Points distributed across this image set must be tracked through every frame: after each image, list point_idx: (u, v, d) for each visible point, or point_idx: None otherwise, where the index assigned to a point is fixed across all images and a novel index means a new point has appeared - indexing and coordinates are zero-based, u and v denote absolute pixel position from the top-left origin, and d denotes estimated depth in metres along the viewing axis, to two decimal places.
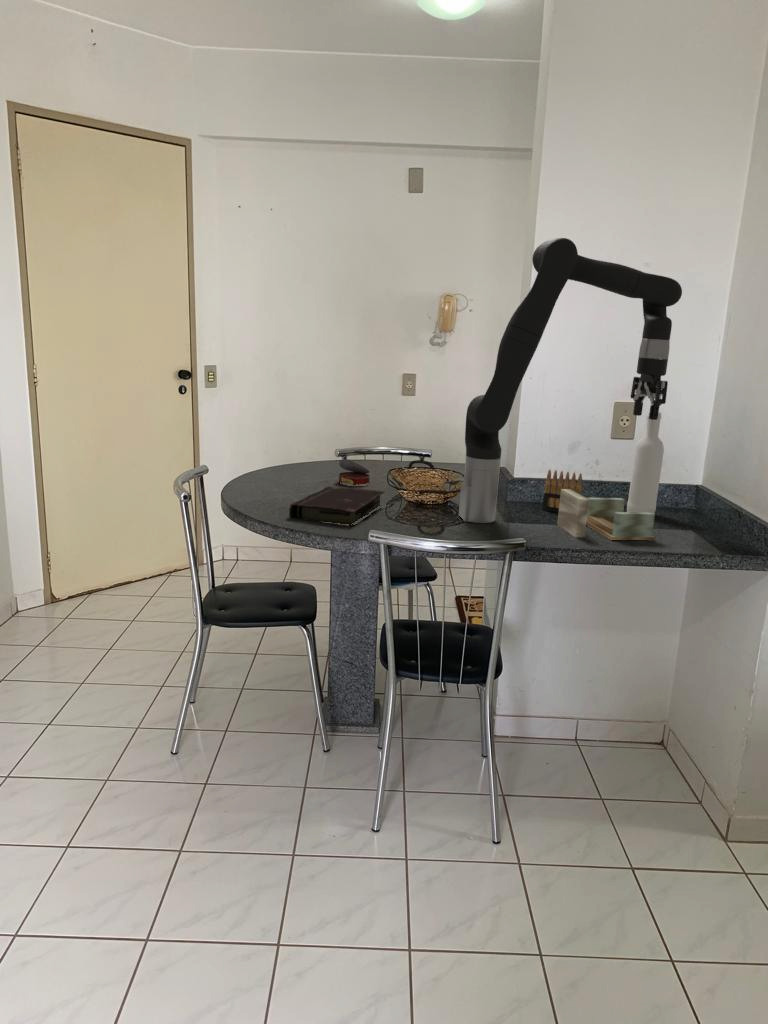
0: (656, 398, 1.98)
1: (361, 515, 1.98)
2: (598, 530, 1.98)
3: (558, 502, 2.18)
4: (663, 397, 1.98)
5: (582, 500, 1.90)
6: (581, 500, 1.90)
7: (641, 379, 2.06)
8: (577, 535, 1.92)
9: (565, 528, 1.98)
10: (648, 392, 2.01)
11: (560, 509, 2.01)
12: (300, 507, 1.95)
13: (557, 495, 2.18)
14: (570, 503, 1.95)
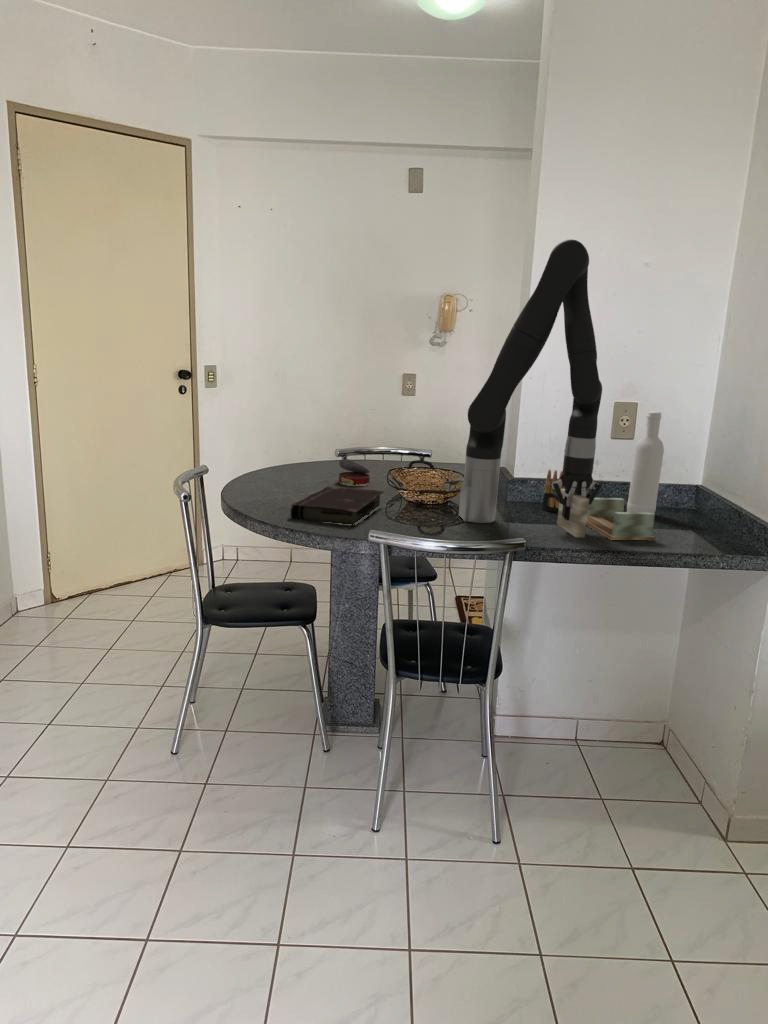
0: (591, 500, 1.96)
1: (362, 515, 1.98)
2: (598, 530, 1.98)
3: (558, 502, 2.18)
4: (588, 497, 1.97)
5: (582, 500, 1.90)
6: (581, 500, 1.90)
7: (568, 478, 1.93)
8: (577, 535, 1.92)
9: (565, 528, 1.98)
10: (584, 493, 1.94)
11: (560, 509, 2.01)
12: (301, 507, 1.95)
13: None
14: None
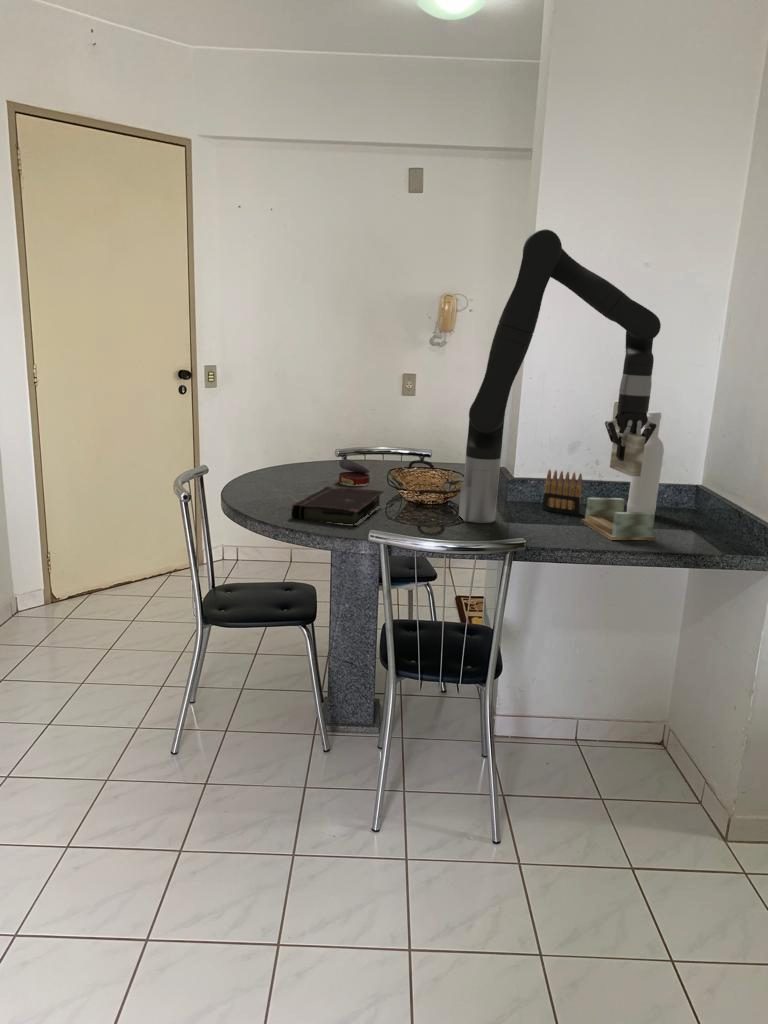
0: (646, 439, 1.94)
1: (363, 515, 1.98)
2: (598, 530, 1.98)
3: (558, 502, 2.18)
4: None
5: (638, 438, 1.88)
6: (637, 438, 1.88)
7: (623, 417, 1.91)
8: (633, 474, 1.90)
9: (619, 469, 1.96)
10: (639, 432, 1.93)
11: (613, 450, 2.00)
12: (302, 508, 1.95)
13: (557, 495, 2.18)
14: None
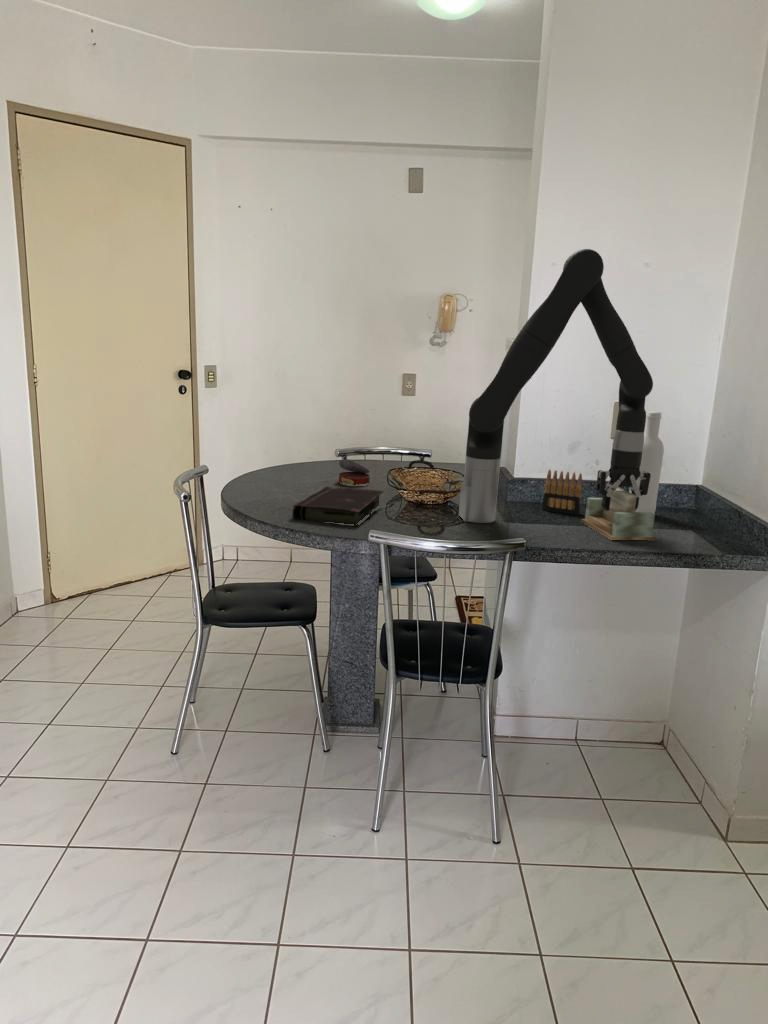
0: (645, 490, 1.98)
1: (364, 515, 1.98)
2: (598, 530, 1.98)
3: (558, 502, 2.18)
4: (642, 487, 1.99)
5: (630, 496, 1.92)
6: (629, 496, 1.92)
7: (617, 472, 1.95)
8: None
9: None
10: (635, 485, 1.96)
11: None
12: (303, 508, 1.95)
13: (557, 495, 2.18)
14: (616, 499, 1.98)
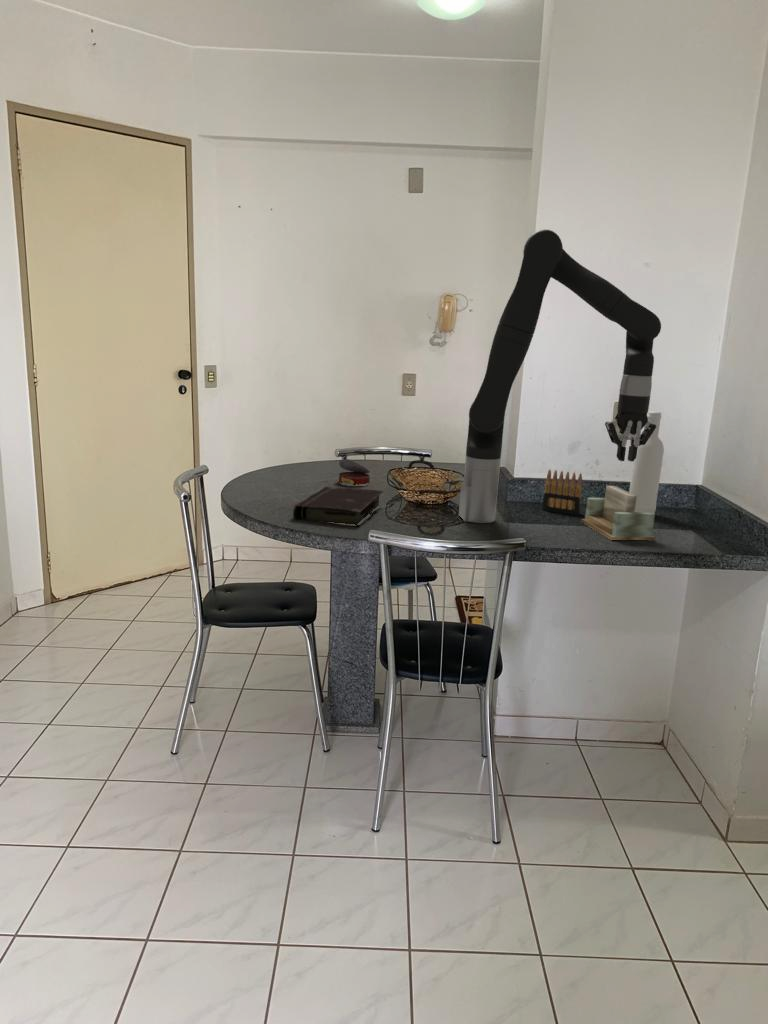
0: (645, 440, 1.94)
1: (364, 515, 1.98)
2: (598, 530, 1.98)
3: (558, 502, 2.18)
4: (642, 438, 1.96)
5: (630, 496, 1.92)
6: (629, 496, 1.92)
7: (623, 417, 1.92)
8: None
9: None
10: (639, 433, 1.93)
11: (605, 505, 2.04)
12: (304, 508, 1.95)
13: (557, 495, 2.18)
14: (616, 499, 1.98)
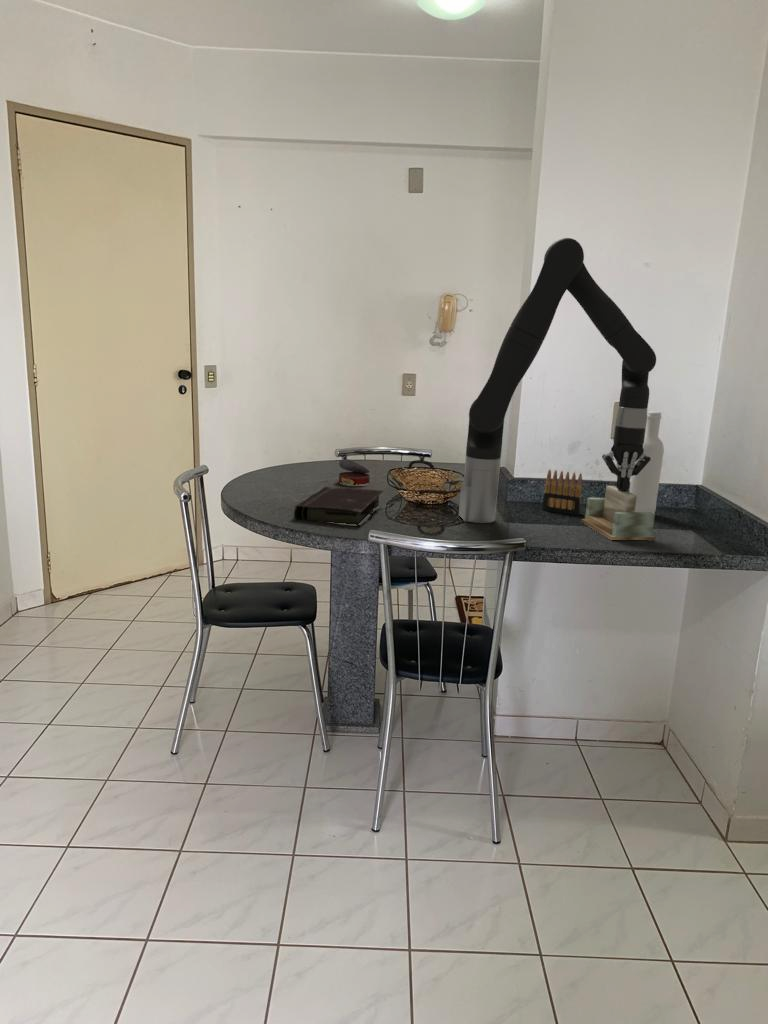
0: (638, 471, 1.96)
1: (365, 515, 1.98)
2: (598, 530, 1.98)
3: (558, 502, 2.18)
4: (635, 468, 1.98)
5: (630, 496, 1.92)
6: (629, 496, 1.92)
7: (619, 448, 1.93)
8: None
9: None
10: (633, 464, 1.95)
11: (605, 505, 2.04)
12: (304, 508, 1.94)
13: (557, 495, 2.18)
14: (616, 499, 1.98)
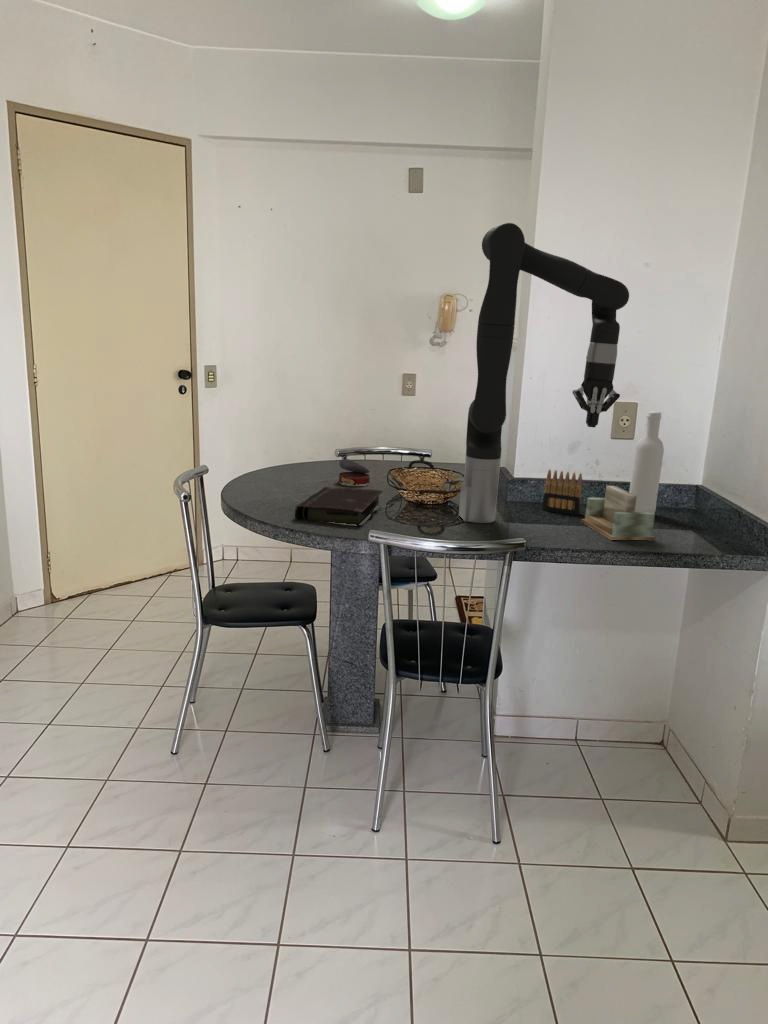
0: (607, 407, 2.00)
1: (365, 515, 1.99)
2: (598, 530, 1.98)
3: (558, 502, 2.18)
4: (605, 405, 2.02)
5: (630, 496, 1.92)
6: (629, 496, 1.92)
7: (588, 383, 1.98)
8: None
9: None
10: (602, 399, 1.99)
11: (605, 505, 2.04)
12: (305, 508, 1.94)
13: (557, 495, 2.18)
14: (616, 499, 1.98)
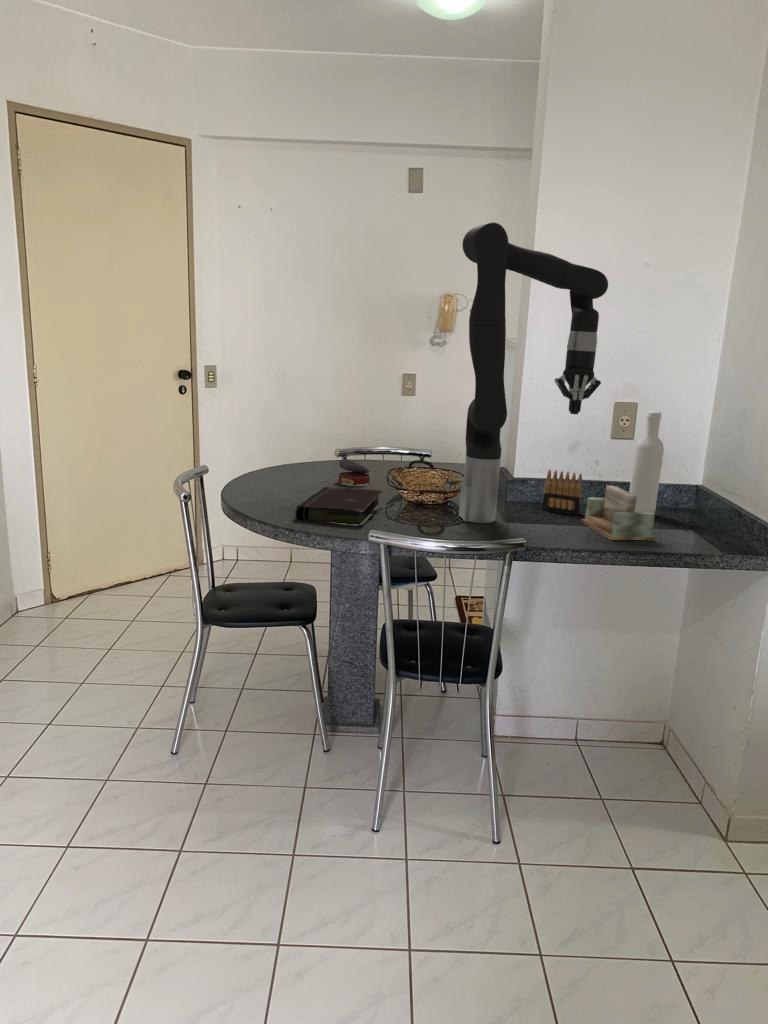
0: (589, 394, 2.04)
1: (366, 515, 1.99)
2: (598, 530, 1.98)
3: (558, 502, 2.18)
4: (586, 392, 2.06)
5: (630, 496, 1.92)
6: (629, 496, 1.92)
7: (570, 371, 2.02)
8: None
9: None
10: (584, 387, 2.03)
11: (605, 505, 2.04)
12: (306, 509, 1.94)
13: (557, 495, 2.18)
14: (616, 499, 1.98)
